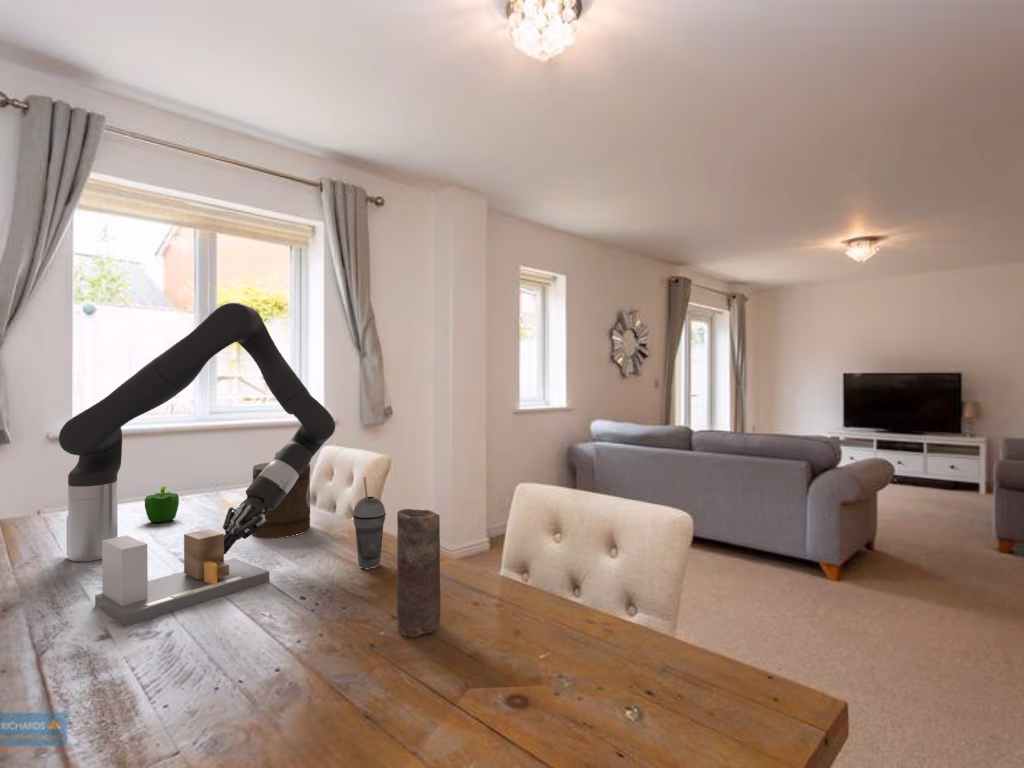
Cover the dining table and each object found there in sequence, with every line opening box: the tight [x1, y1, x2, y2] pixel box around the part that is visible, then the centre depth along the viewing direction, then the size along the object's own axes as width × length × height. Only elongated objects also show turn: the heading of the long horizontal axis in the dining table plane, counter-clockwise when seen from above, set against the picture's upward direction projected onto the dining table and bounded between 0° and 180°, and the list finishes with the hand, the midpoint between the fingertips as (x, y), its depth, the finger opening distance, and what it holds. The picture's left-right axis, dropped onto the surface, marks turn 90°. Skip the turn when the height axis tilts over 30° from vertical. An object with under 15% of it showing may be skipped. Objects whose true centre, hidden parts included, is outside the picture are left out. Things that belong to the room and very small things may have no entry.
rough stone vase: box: [396, 508, 442, 638], centre depth 94 cm, size 8×7×20 cm
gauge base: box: [94, 535, 270, 627], centre depth 109 cm, size 26×14×12 cm, turn 144°
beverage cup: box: [352, 476, 387, 568], centre depth 125 cm, size 7×7×20 cm
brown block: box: [183, 528, 229, 580], centre depth 112 cm, size 5×11×8 cm, turn 54°
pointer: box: [204, 561, 217, 584], centre depth 108 cm, size 1×4×4 cm, turn 54°
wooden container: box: [252, 450, 311, 539], centre depth 153 cm, size 15×15×22 cm
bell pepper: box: [144, 485, 180, 523], centre depth 162 cm, size 8×8×10 cm
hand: (218, 552), depth 116 cm, fingers closed
